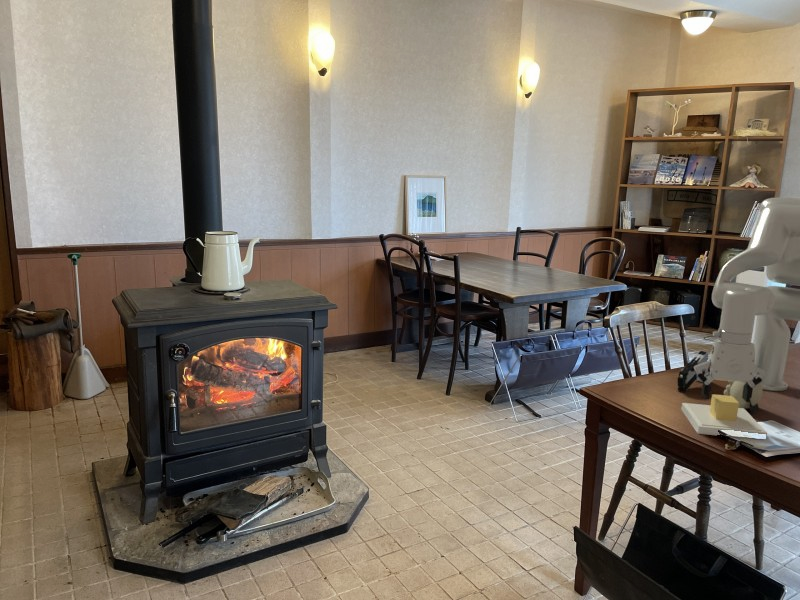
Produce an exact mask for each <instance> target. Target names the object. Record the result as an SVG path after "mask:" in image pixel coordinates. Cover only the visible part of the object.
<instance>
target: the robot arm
mask: <svg viewBox="0 0 800 600" xmlns="http://www.w3.org/2000/svg"><path fill="white" fill-rule="evenodd" d="M760 203H761V204H760V207H759V215H758V218H757V221H756V224H755V227H754V229H753V231H752V234H751V237H750V240H749V242H748V245H747V248H746V249H744V250H743V251H742V252H740V253H738V254H736V255H735V256H733V257H731V259H729V260H728V261H727V262H726V263H725V264H724V265H723V266H722V268H720V271H719V273H718V274H717V275H718V276H717V278H716V279H715V283H714V286H713V289H712V293H711V301H712V304H713V306H714V307H716V308H718V309H721V315H720V323H719V327H718V329H717V330H716V331H712V337H716V338H715V339H714V341H713V344H712V347H711V351H710V352H709V356H708V358H709V359H708V360H707V361H706V362H703V363H701V364H698V365H695V366H694V369H695V371H696V374H697V376H698V377H699V378H700V379H701V380H702V381H703V382H702V385H701V386H702V387H701V394H702V396H704V398H705V399H706V400H709V399H710V397H711V391H712V390H711V389H712V385H711V383H713V382H714V380H717V381H723V382H724V381H725V382H728V381H737V382H746V384H745V385H744V388H743V394H742V398H743V399H744V400H745V401H746V402H749V400H750V398H751V397H752V391H753V388H755V386H756V385H757V384H759V383H760V382H761V383H762V387H763V390H765V391H772V392H774V391H775V392H781V391H786V390H788V386H789V385H788V383H787V382H786V381H784V376H785V369H786V363H787V358H788V351H789V347H790V341H791V330H790V327H789V325H788V324H787V321H785V320H791V321H797V322H800V288H793V287H789V286H788V287H786V286H779V285H778V286H777V285H769V286H768V285H767V286H761V285H755V284H749V283H742V282H734V281H733V279H735V277H736V276H738V275H739V274H741V273H745V272H747V271H751V270H755V269H759V268H764V267H765V268H766V269H765V270H766V271H765V272H766V273H765V275H766V277H767V279H768V280H769V281H770V282H773V283H778V284H784V285H791V286H798V287H800V198H798V197H797V198H795V197H770V198H769V197H768V198H766V199H763V201H762V202H760ZM755 318H756V320H755ZM755 321H756V322H755ZM754 326H755V328H754ZM753 332H754V335H753ZM752 340H753V342H752ZM705 368H707V372H708V373H707V374H706V375H705V376H704V375H703V374H702V370H703V369H705ZM754 376H755V377H754ZM753 377H754V378H753Z"/></svg>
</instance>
